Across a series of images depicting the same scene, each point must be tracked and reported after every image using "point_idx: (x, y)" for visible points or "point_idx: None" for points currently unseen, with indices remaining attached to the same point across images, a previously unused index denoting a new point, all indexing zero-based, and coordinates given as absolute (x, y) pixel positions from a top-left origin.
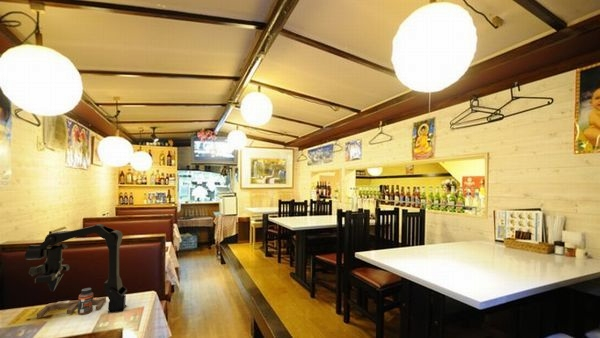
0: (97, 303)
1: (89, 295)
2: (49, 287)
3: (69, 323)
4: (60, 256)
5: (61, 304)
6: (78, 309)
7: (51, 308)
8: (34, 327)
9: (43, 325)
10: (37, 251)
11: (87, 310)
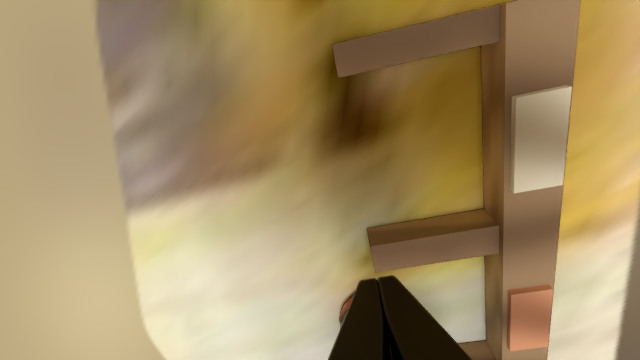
0: (489, 334)
1: None
2: (330, 354)
3: (237, 309)
4: None
5: (503, 146)
6: None
7: (490, 61)
8: (181, 149)
9: (210, 188)
10: None
11: None
